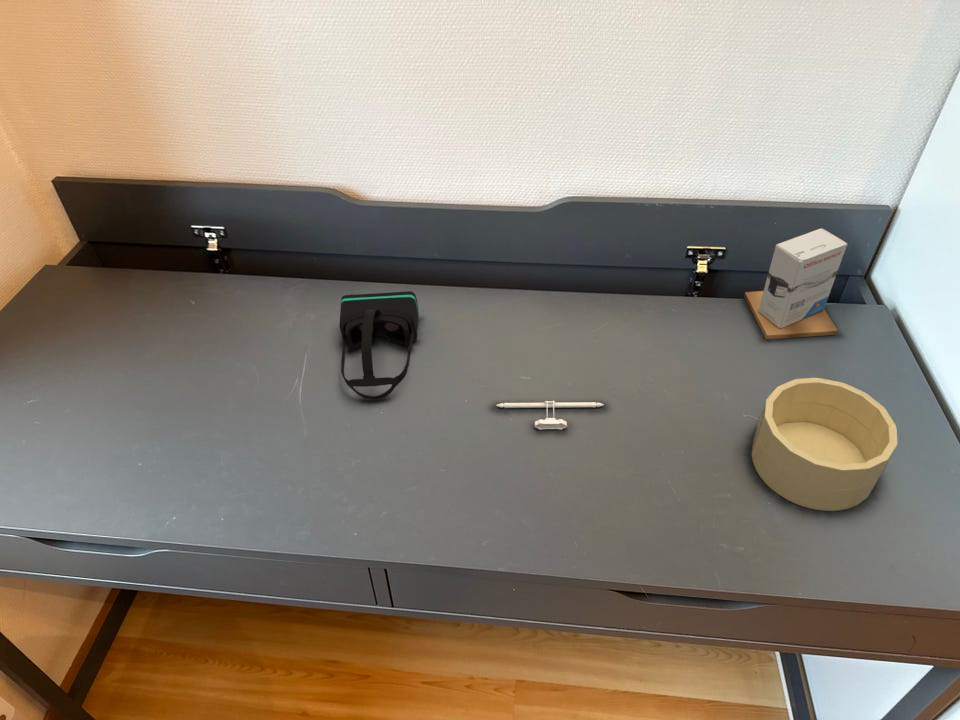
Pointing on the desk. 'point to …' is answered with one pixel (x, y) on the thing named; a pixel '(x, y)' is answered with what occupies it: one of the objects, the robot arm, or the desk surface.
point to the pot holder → (803, 328)
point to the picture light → (548, 422)
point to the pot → (822, 443)
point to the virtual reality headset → (377, 331)
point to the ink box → (801, 277)
